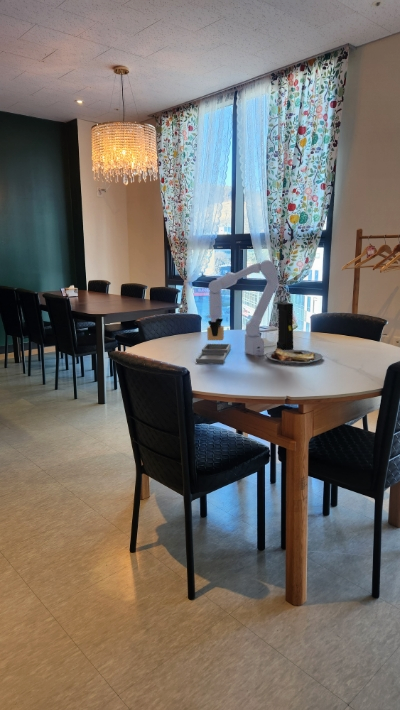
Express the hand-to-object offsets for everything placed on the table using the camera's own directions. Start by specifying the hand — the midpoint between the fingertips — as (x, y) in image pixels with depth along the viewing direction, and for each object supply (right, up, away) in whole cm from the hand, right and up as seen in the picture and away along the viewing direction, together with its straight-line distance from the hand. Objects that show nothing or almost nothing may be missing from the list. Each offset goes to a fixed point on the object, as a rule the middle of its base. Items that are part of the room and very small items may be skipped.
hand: (215, 334), depth 225 cm
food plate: (+34, -12, -13) cm, 38 cm away
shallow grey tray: (-2, -12, -11) cm, 16 cm away
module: (0, -2, 0) cm, 2 cm away
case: (0, -9, +3) cm, 9 cm away
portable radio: (+35, -7, +10) cm, 37 cm away
